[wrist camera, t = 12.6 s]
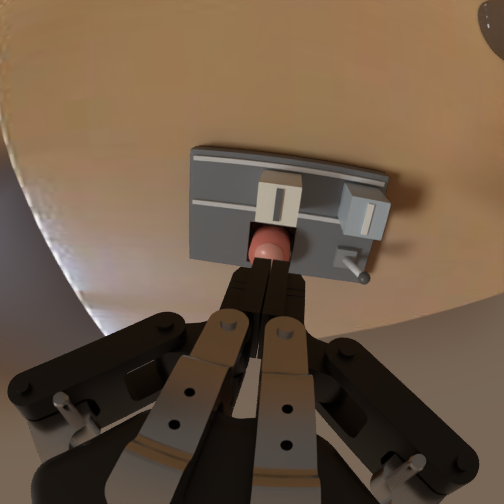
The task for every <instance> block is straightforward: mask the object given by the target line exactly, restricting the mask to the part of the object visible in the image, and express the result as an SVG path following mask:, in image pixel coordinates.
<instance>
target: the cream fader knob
mask: <svg viewBox="0 0 504 504" xmlns="http://www.w3.org/2000/svg"><path fill="white" fill-rule="evenodd" d="M301 193H302V178H301V174H294V173H287V172H280V171H273V170H265V169H264V171H263V173H262V175H261V178H260V180H259V185H258V195H257V205H256V214H255V221H256V222H263V223H270V224H277V225H284V226H291V227H296V224H297V218H298V212H299V206H300V199H301Z"/></svg>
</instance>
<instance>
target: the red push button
mask: <svg viewBox="0 0 504 504" xmlns="http://www.w3.org/2000/svg"><path fill="white" fill-rule="evenodd" d="M248 255H249V260H250V262H251V264H253V261H254V257H259V258H267V259H272V261H273V259H275V260H283V261H289V258H290V235H289V232H288V231H287V229H286V228H285V227H283V226H280V225H273V224H266V223H264V224H262V225H260V226H259V227H258V228H257V229H256V230H255V232H254V235H253V238H252V242H251V245H250V248H249V254H248ZM271 266H272V262H271Z"/></svg>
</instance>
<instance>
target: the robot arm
mask: <svg viewBox="0 0 504 504" xmlns="http://www.w3.org/2000/svg"><path fill="white" fill-rule="evenodd" d="M478 20H479V25H480V29H481V31H482V34H483V36H484V38H485V40H486V41H487V43H488V45H489V46H490V47H491V49H492V50H493V51H494V52H495V53H496V54H497V55H498V56H499V57H500V58H501V59H503V60H504V0H488V1H485V2H484V3H482V4H481V6H480V8H479V11H478ZM271 262H272V266H271ZM289 263H290V261H283V260H275V259H273V261H272V259H267V258H259V257H254V261H253V264H252V267H251V268H247V267H240V268H239V269H238V270H236V271H235V272H234V273H233V275H232V278H231V281H230V283H229V286H228V289H227V291H226V294H225V296H224V299H223V302H222V304H221V307H220V310H218V311H216V312H214V313H213V314H212V315H211V316H210V318H209V319H208V321H205V322H201V323H187V324H185V320H184V319H183V317H181V316H180V315H179V314H176V313H173V312H161V313H158V314H155V315H153V316H151V317H148V318H146V319H144V320H142V321H139V322H137V323H135V324H133V325H130V326H128V327H126V328H124V329H121V330H119V331H117V332H115V333H112V334H110V335H108V336H105V337H103V338H101V339H99V340H97V341H94V342H92V343H89V344H87V345H85V346H83V347H80V348H78V349H76V350H73V351H71V352H69V353H67V354H64V355H62V356H59V357H57V358H55V359H52V360H50V361H48V362H45V363H43V364H41V365H38V366H36V367H33V368H31V369H29V370H26V371H24V372H22V373H19V374H17V375H16V376H15V377H14V378H13V379H12V380H11V381H10V384H9V386H8V397H9V399H10V401H11V402H12V403H13V404H14V406H15V407H16V408H17V409H18V410H19V411H20V413H21V415H22V416H23V417H24V418H25V419H26V420H27V423H28V426H29V429H30V432H31V435H32V438H33V441H34V444H35V446H36V449H37V452H38V454H39V457H40V459H41V462H42V464H41V465H40V467H39V468H38V469H37V471H36V472H35V474H34V476H33V479H32V483H31V497H32V504H439V503H440V502H441V501H442V500H443V498H444V497H445V496H447V495H449V494H451V493H452V492H454V491H456V490H458V489H459V488H461V487H462V486H464V485H466V484H468V483H469V482H471V481H472V480H473V479H474V478H475V476H476V475H477V473H478V469H479V459H478V456H477V454H476V452H475V451H474V450H473V449H472V448H471V447H470V446H469V445H468V444H467V443H466V442H465V441H464V440H463V439H462V438H461V437H460V436H459V435H457V434H456V433H455V432H454V431H453V430H452V429H451V428H450V427H449V426H448V425H447V424H446V423H445V422H444V421H443V420H442V419H440V418H439V417H438V416H437V415H436V414H435V413H434V412H433V411H432V410H431V409H430V408H429V407H427V405H425V404H424V403H423V402H422V401H421V400H420V399H419V398H418V397H417V396H416V395H415V394H414V393H412V391H411V390H409V389H408V388H407V387H406V386H405V385H404V384H403V383H402V382H401V381H400V380H399V379H398V378H396V377H395V376H394V375H393V374H392V373H391V372H390V371H389V370H388V369H387V368H386V367H385V366H383V364H381V363H380V362H379V361H378V360H377V359H376V358H375V357H374V356H373V355H372V354H371V353H370V352H369V351H367V350H366V349H365V348H364V347H363V346H362V345H361V344H360V343H358V342H357V341H355V340H353V339H349V338H337V339H334V340H332V341H331V342H329V344H328V343H325V342H323V341H320V340H318V339H316V338H314V337H312V336H311V335H310V334H309V333H308V332H307V330H306V329H305V326H304V310H305V281H304V279H303V278H302V276H301V274H293V273H289ZM258 344H259V349H258ZM257 349H258V357H257V358H258V359H261V367H260V375H259V385H258V396H257V407H256V417H255V418H245V419H237V418H233V417H232V413H233V409H234V406H235V404H236V400H237V398H238V395H239V392H240V388H241V386H242V383H243V380H244V377H245V373H246V368H247V366H248V362H249V358H250V357H251V358H256V354H257ZM152 360H154V361H152ZM150 361H152V362H150ZM148 362H150V363H148ZM146 363H148V364H146ZM144 364H146V365H144ZM142 365H144V366H142ZM140 366H142V367H140ZM138 367H140V368H138ZM136 368H138V369H136ZM134 369H136V370H134ZM132 370H134V371H132ZM130 371H132V372H130ZM128 372H130V373H128ZM127 373H128V374H127ZM155 401H156V402H155ZM153 402H155V404H154V406H153V408H152V409H149V410H146V411H144V412H141V413H139V414H137V415H136V416H134V417H132V418H130V419H128V420H126V421H124V422H123V423H121V424H119V425H117V426H115V427H113V428H111V429H110V430H108V431H106V432H104V433H102V434H100V432H101V428H103V427H105V426H107V425H109V424H111V423H114V422H116V421H117V420H120V419H122V418H124V417H126V416H128V415H129V414H132V413H133V412H135V411H137V410H139V409H141V408H143V407H145V406H147V405H149V404H151V403H153ZM315 409H316V410H317V411H318V412H319V414H320V415H321V416H322V417H323V418H324V419H325V421H326V422H327V423H328V424H329V425H330V426H331V428H332V429H333V430H334V431H335V432H336V433H337V435H338V436H339V437H340V438H341V439H342V440H343V441H344V443H346V445H347V446H348V447H349V448H350V449H351V450H352V452H353V453H354V454H355V455H356V456H357V457H358V458H359V459H360V460H361V462H362V463H363V464H364V465H365V466H366V467H367V468H368V469H369V470H370V471H371V472H372V473H373V475H372V477H371V480H370V488H371V491H372V493H373V494H374V496H375V497H376V498H375V497H374V496H373V495H372V494H371V492H370V491H369V490H368V489H367V487H366V486H365V485H364V484H363V483H362V482H361V480H360V479H359V478H358V477H357V475H356V474H355V473H354V472H353V471H352V469H351V468H350V467H349V466H348V464H347V463H346V462H345V461H344V459H343V458H342V457H341V456H340V454H339V453H338V452H337V451H336V449H335V448H334V447H333V446H332V445H331V444H330V443H329V442H328V441H326V440H325V439H324V438H322V437H320V436H319V435H317V434H316V417H315Z"/></svg>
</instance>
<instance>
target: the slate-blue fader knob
mask: <svg viewBox="0 0 504 504" xmlns="http://www.w3.org/2000/svg"><path fill="white" fill-rule="evenodd" d="M390 206H391V203H390V202H389V200H388V199H387V198H386V197H385V195H384V194H383V193H382V192H381V191H380V189H379V188H375V187H370V186H365V185H360V184H355V183H349V182H344V185H343V191H342V196H341V200H340V205H339V210H338V215H337V216H338V219H339V222H340V225H341V228H342V231H343V234H344V235H350V236H356V237H362V238H368V239H374V240H380V241H381V238H382V235H383V232H384V228H385V225H386V221H387V217H388V214H389V210H390Z"/></svg>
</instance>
